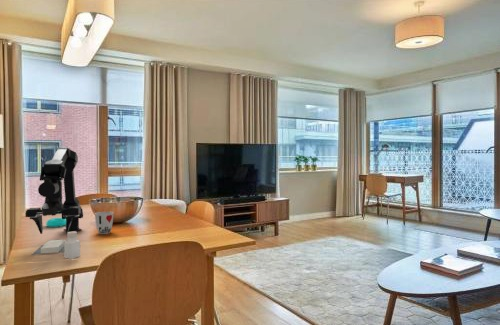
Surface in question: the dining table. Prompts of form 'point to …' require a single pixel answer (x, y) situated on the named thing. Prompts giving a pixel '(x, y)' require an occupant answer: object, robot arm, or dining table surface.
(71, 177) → the robot arm
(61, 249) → the mat
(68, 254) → the pepper shaker
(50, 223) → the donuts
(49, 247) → the block
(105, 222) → the cup
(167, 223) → the dining table surface
